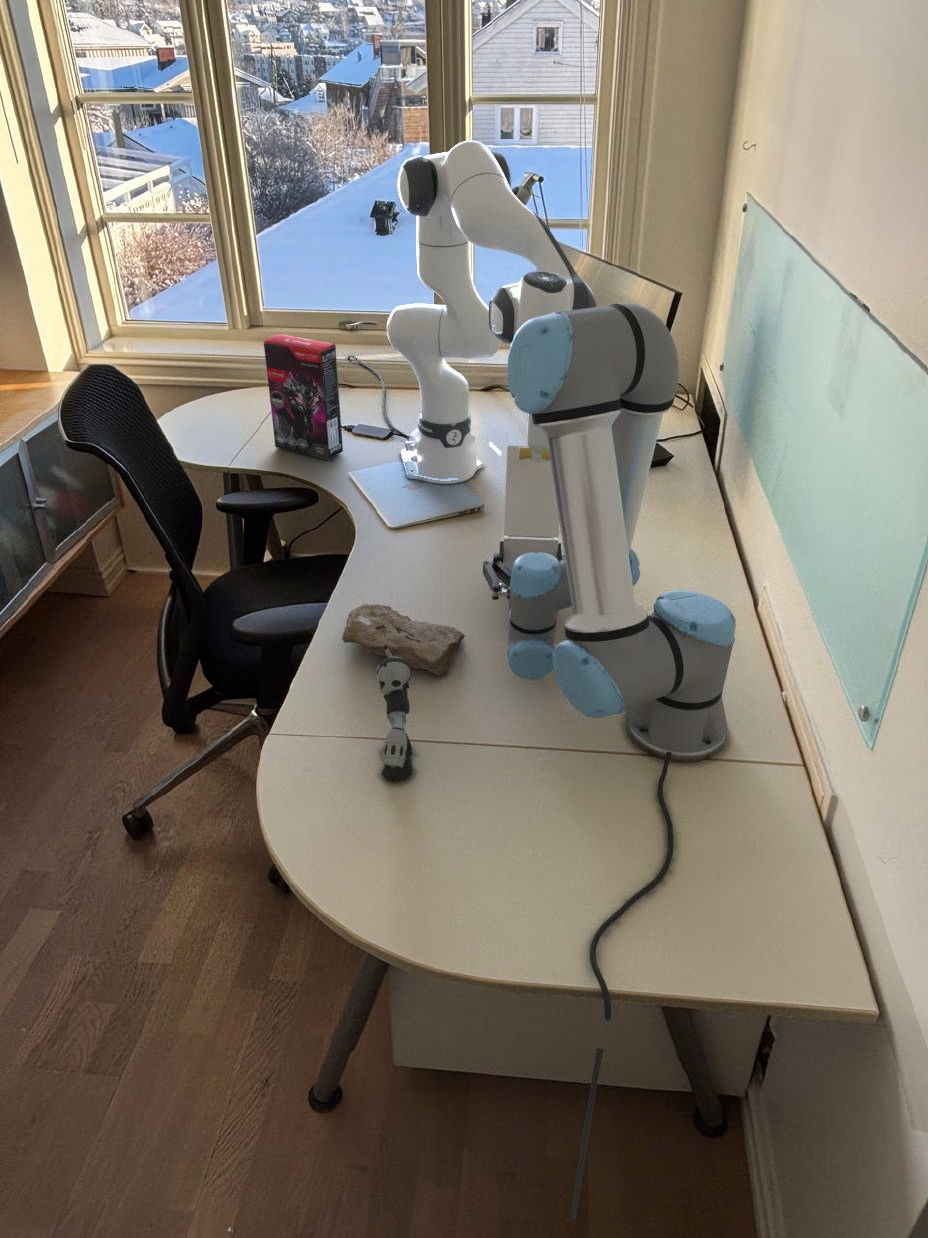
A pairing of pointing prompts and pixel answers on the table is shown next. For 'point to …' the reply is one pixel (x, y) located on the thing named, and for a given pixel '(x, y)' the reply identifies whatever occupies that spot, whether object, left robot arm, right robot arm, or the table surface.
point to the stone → (402, 637)
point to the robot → (396, 716)
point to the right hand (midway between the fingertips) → (530, 548)
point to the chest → (527, 548)
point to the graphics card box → (304, 395)
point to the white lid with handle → (529, 495)
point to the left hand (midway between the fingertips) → (536, 453)
